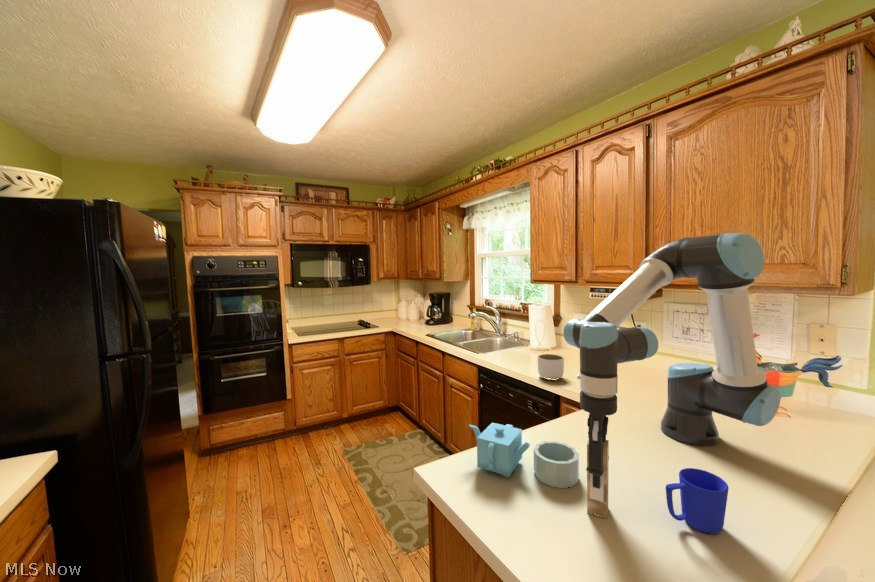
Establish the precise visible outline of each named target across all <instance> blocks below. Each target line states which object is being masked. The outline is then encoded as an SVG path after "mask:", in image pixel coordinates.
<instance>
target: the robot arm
mask: <svg viewBox="0 0 875 582" xmlns="http://www.w3.org/2000/svg"><path fill="white" fill-rule="evenodd" d="M764 264H765V256H764V252H763V248H762V246H761V244H760V243H759V242H758V240H757V239H756V238H755V237H754V236H752V235H750V234H748V233H744V232H737V233H736V232H735V233H734V232H733V233H732V232H731V233H728V232H726V233H725V232H724V233H719V234H718V233H716V234H711V235H710V234H709V235H707V234H706V235H700V236H691V237H690V236H688V237H687V236H686V237H682V238H678V239H675V240H672V241H670V242H668V243H667V244H666V243H665V245H663V246H661V247H659V248H658V249H656V250H654V251H653V252H652V253H650V254H649V255H648V256H646V257H645V258H644V259H643V260H642V261H641V262H640V263H639V266H638V269H637V270H636V271H635V272H634V273H632V275H630V276H629V277H628V278H626V280H625V281H624V282H622V284H620V285H619V286H618V287H617V288H616V289H615V290H613V292H611V293H610V294H609V295H608V296H607V297H606V298H604V299H603V301H601V302H600V303H599V304H598V305H597V306H595V308H593V309H592V310H591V311H590V312H589V313H588V314H587V315H586V316H584V317H583V318H582V319H580V318H578V319H575V318H574V319H571V320H569V321H567V322H566V324H565V325H564V326H563V331H562V332H563V338H564V340H565V342H566V343H567V344H568V345H570V346H571V347H574V348H577V349H579V374H577V377H576V378H577V380H580V381H579V382H580V383H579V388H580V391H579V406H580V408H581V409H582V410H583V411H584V412H586V413H589V414H588V417H587V428H588V431H587V435H588V436H587V438H588V439H589V467H587V466H586V469H585V470H586V472H587V471H589V473H590V498H591V499H594V500H598V501H601V502H603V501H604V472H603V442H605V441H606V440H607V434H608V427H609V416H611V415H614V414H616V413H617V411H618V396H617V394H618V384H619V383H618V377H619V376H618V364H624V363H628V362H629V363H630V362H636V361H643V360H645V359H649V358H651V357H653V356H655V355H656V353H657V352H658V349H659V339H658V337H657V335H656V334H655V333H654V331H652V329H650V328H648V327H644V326H632V327H626V326H625V327H624V326H620V325H622V323H624V322H625V321H626V320H627V319H629V317H630V316H631V315H632V314H633V313H634V312H635V311H637V310H638V309H639V307H641V306H642V305H643V304H644V303H645V302H646V301H647V300H648V299H650V298H651V296H652V295H654V294H655V293H656V291H658V290H659V289H660V288H661V287H665V286H668V285H669V284H671V283H672V282H673V281H675V280H677V279H686V278H687V279H696V282H697V286H698V288H699V289H700V290H702V291H704V292H705V294H706V295H705V296H706V301H707V308H708V314H709V315H708V316H709V320H710V321H709V322H710V328H711V329H710V330H711V335H712V341H713V348H714V353H715V354H714V355H715V360H716V361H715V362H716V367H717V368H716V369H715V368H714V367H713V366H712V365H710V364H706V363H695V362H694V363H693V362H683V363H682V362H680V363H679V362H678V363H674V364H672V365H669V367H668V369H667V377H666V378H667V407H666V410H665V412H664V414H663V416H662V419H661V421H660V430H661V431H662V433H663V434H664V435H666V436H668V437H670V438H671V439H674V440H676V441H678V442H682V443H685V444H689V445H695V446H705V447H706V446H707V447H709V446H710V447H711V446H714V445H717V444H718V443H719V442H720V434H719V430H718V427H717V426H716V422H715V419H714V418H713V413H716V414H719V415H722V416H725V417H729V418H730V419H734V420H736V421H740V422H742V423H745V424H749V425H752V426H755V427H756V426H757V427H763V426H764V427H765V426H767V425H768V424H770V423H771V422H772V420H773V419H774V418H775V417H776V414H777V412H778V410H779V408H780V404H781V399H782V398H781V397H782V395H781V391H780V390H779V388H777V387H776V386H774V385H772V384H768V378H767V375H766V374H765V373H764V372H763V371H761V370H759V369H758V367H759V366H758V359H757V353H756V352H757V350H756V345H755V344H756V343H755V336H754V327H753V321H752V313H751V305H750V298H749V288H750V287H751V286H752V285H753V284H754V283H755V278H758V277H759V276H760V275H762V272H763V270H764V266H763V265H764Z"/></svg>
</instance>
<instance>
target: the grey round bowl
mask: <svg viewBox="0 0 875 582" xmlns="http://www.w3.org/2000/svg"><path fill="white" fill-rule="evenodd" d="M533 471H534V475H535V477H536V479H537V478H538V479H539V480H540V482H541V483H542V482H543V483H542V484H544V483H545V484H544V485H546V486H548V485H549V487H551V486H552V487H551V488H554V487H558V488H557V489H569V488H568V487H570V488H573V487H574V485H575V484H576V485H577V484H578V483H579V476H580V454H579V452H578V451H577V450H576V448H575V447H573V446H571V445H568V444H567V443H565V442H559V441H557V440H556V441H555V440H547V441H546V440H545V441H541V442H538V443H536V444H535V446H534V447H533ZM538 479H537V480H538ZM539 480H538V481H539ZM577 482H578V483H577ZM576 485H575V486H576ZM572 486H573V487H572Z"/></svg>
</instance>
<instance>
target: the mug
mask: <svg viewBox="0 0 875 582" xmlns="http://www.w3.org/2000/svg"><path fill="white" fill-rule="evenodd" d="M678 480H679V483H678V482H675V483H667V484H666V485H665V495H666V496H665V497H666V504H667V509H668V512H669V514H670V516H671V517H672V518H673V519H675V520H676V521H679V522H680V521H685V522H686V523H687V524H688V525H689V526H690V527H692V528H694V529H695V530H697V531H699V532H701V533H704V534H709V535H710V534H711V535H715V534H719V533H721V532H722V530H723V529H724V526H725V517H726V509H727V502H728V496H729V485H728V483H727V482H726V481H725V479H723V478H722V477H720V476H718V475H716V474H714V473H712V472H709V471H706V470H703V469H700V468H693V467H687V468H686V467H685V468H683V469H681V470H679V472H678ZM676 490H679V492H680V503H681V504H680V506H681V514H676V513H675V510H674V509H675V508H674V502H673V501H674V500H673V491H676Z"/></svg>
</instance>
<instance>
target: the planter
mask: <svg viewBox="0 0 875 582" xmlns="http://www.w3.org/2000/svg"><path fill="white" fill-rule="evenodd" d="M537 370H538V375H539V376H540V377H541V376H542V377H545V378H551V379H557V378H561V377H562V378H563V375H564V371H565V358H564V356H562V355H559V354H556V353H555V354H553V353H544V354H543V353H541V354H539V355H537ZM542 377H541V378H542ZM562 378H561V379H562Z"/></svg>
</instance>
